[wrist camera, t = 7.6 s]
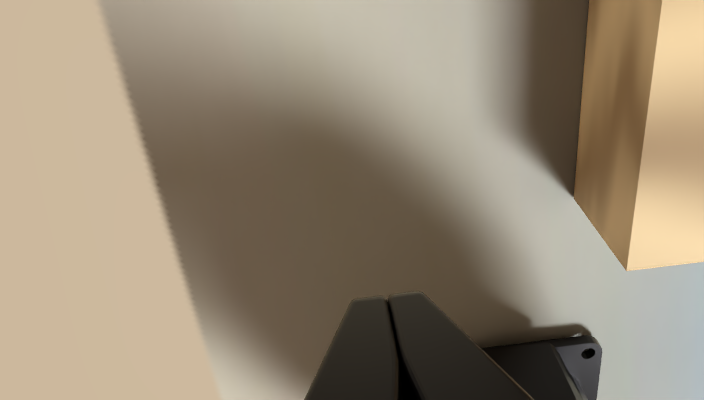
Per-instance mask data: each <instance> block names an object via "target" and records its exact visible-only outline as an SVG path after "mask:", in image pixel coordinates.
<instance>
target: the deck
mask: <svg viewBox="0 0 704 400" xmlns="http://www.w3.org/2000/svg"><path fill="white" fill-rule="evenodd" d="M574 199H575V201H576V202H577V204H578V205H579V206H580V208H581V209H582V210H583V212H584V213H585V215H586V216H587V217H588V219H589V220H590V221H591V223H592V224H593V226H594V227H595V228H596V230H597V231H598V233H599V234H600V235H601V237H602V238H603V239H604V241H605V242H606V244H607V245H608V246H609V248H610V249H611V250H612V252H613V253H614V255H615V256H616V257H617V259H618V260H619V261H620V263H621V264H622V266H623V267H624V268H625V270H626V271H631V270H639V269H647V268H656V267H664V266H672V265H680V264H689V263H697V262H704V0H589V11H588V24H587V36H586V49H585V62H584V74H583V87H582V100H581V112H580V125H579V138H578V150H577V163H576V176H575V188H574Z"/></svg>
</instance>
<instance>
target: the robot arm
mask: <svg viewBox="0 0 704 400" xmlns="http://www.w3.org/2000/svg"><path fill="white" fill-rule="evenodd" d="M588 348H589V349H588ZM585 349H588V350H587V351H584V350H585ZM601 357H602V348H601V346H600V345H599V343H598V341H597V340H596V339H595V338H594V337H592V336H579V337H570V338H562V339H554V340H546V341H538V342H529V343H521V344H513V345H505V346H496V347H488V348H480V347H479V346H478V345H477V344H476V343H475V342H474V341H473V340H472V339H471V338H470V337H469V336H468V335H467V334H466V333H464V332H463V331H462V330H461V329H460V328H459V327H458V326H457V325H456V324H455V323H454V322H453V321H452V320H451V319H450V318H449V317H448V316H447V315H446V314H445V313H444V312H443V311H442V310H441V309H440V308H439V307H437V306H436V305H435V304H434V303H433V302H432V301H431V300H430V299H429V298H428V297H427V296H426V295H425V294H424V293H422V292H420V291H415V292H407V293H398V294H392V295H390V296H389V298H388V302H387V299H386V298H385V297H383V296H374V297H365V298H357V299H354V300H353V301H351V303H350V305H349V307H348V309H347V311H346V313H345V315H344V317H343V319H342V321H341V323H340V326H339V328H338V330H337V332H336V334H335V336H334V338H333V340H332V342H331V344H330V347H329V349H328V351H327V353H326V355H325V357H324V359H323V361H322V363H321V366H320V368H319V370H318V372H317V374H316V376H315V378H314V380H313V382H312V385H311V387H310V389H309V391H308V393H307V395H306V397H305V399H304V400H596V399H597V390H598V382H599V374H600V365H601Z"/></svg>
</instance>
